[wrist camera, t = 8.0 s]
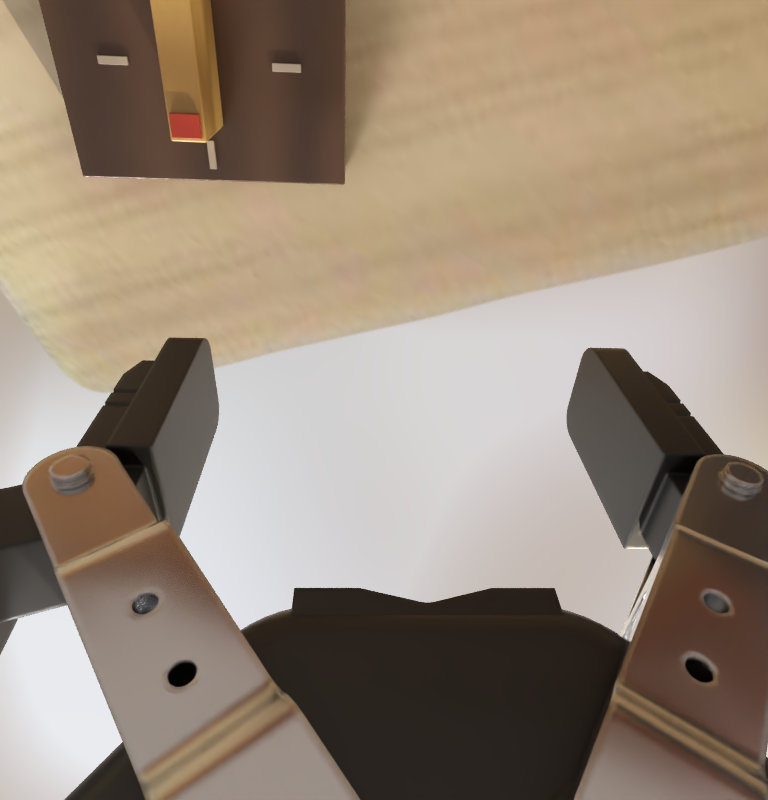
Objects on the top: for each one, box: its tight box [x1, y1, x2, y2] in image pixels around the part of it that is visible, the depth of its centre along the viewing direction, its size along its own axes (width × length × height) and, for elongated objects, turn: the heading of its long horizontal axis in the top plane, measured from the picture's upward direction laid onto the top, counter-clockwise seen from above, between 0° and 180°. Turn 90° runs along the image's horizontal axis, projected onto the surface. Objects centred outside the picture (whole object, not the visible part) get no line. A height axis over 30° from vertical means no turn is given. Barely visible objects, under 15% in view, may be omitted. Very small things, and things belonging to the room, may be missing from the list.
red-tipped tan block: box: [150, 0, 223, 143], centre depth 26 cm, size 6×2×4 cm, turn 177°
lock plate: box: [39, 0, 345, 185], centre depth 29 cm, size 14×11×3 cm
